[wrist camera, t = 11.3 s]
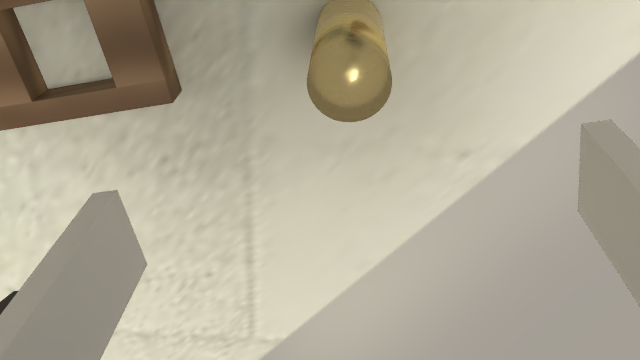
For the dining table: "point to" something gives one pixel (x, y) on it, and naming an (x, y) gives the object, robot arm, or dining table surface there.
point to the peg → (349, 62)
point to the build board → (94, 97)
